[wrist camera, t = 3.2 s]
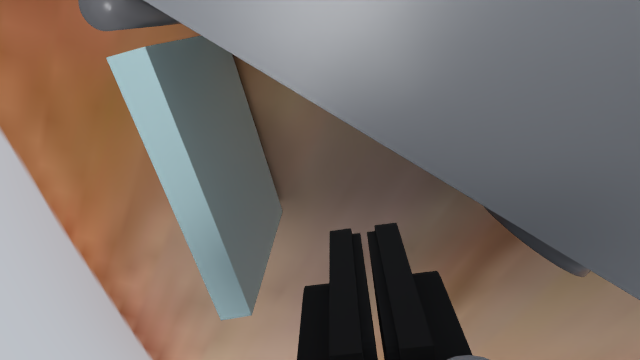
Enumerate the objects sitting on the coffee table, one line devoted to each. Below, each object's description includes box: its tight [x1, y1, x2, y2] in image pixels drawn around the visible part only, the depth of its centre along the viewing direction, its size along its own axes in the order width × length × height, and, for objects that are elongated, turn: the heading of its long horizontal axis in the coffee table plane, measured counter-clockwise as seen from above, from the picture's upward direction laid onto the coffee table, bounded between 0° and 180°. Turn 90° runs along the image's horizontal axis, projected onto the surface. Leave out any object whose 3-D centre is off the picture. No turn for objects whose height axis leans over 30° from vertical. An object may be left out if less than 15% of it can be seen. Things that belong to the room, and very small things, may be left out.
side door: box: [106, 36, 282, 320], centre depth 14 cm, size 8×2×7 cm, turn 14°
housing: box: [79, 0, 640, 300], centre depth 12 cm, size 18×9×9 cm, turn 59°
